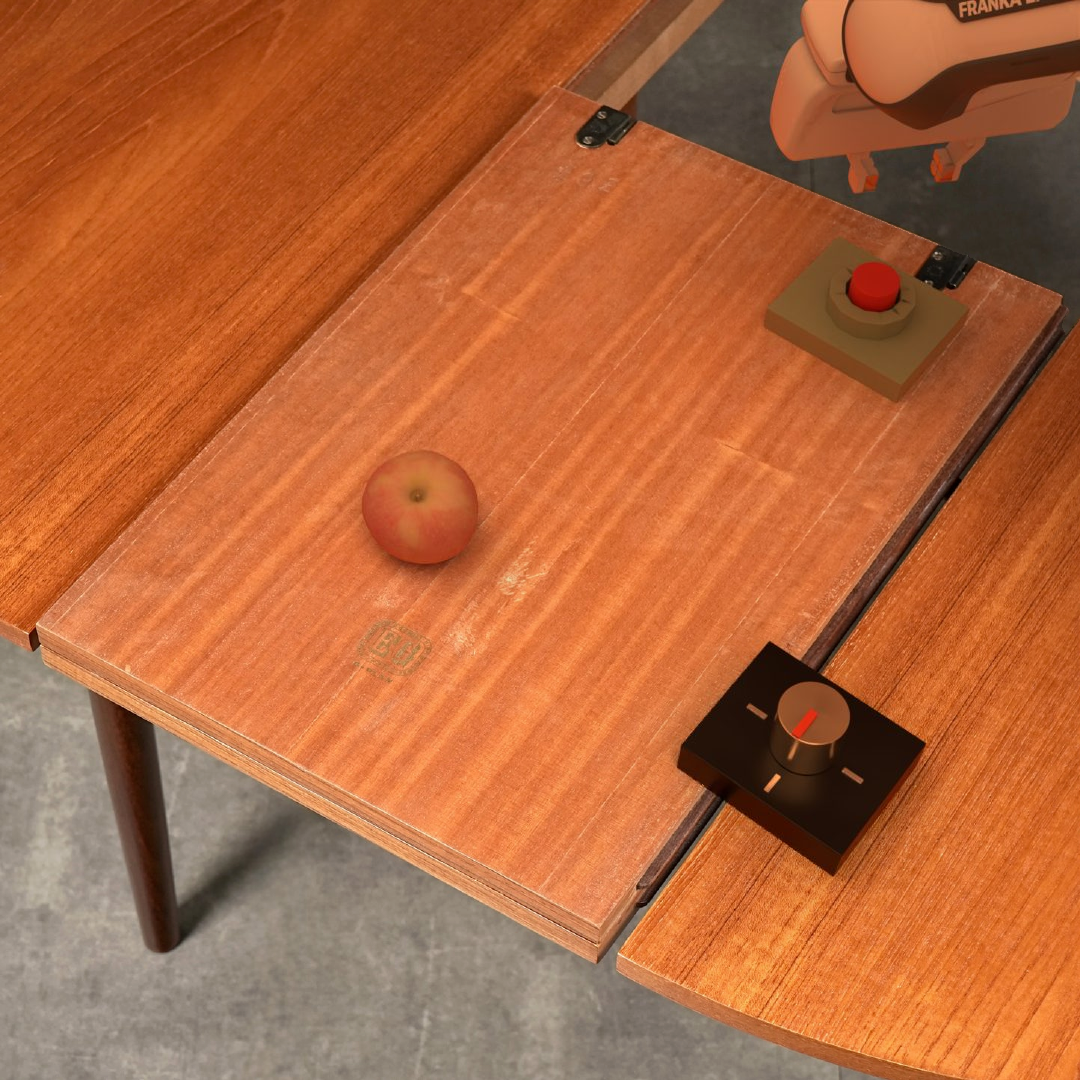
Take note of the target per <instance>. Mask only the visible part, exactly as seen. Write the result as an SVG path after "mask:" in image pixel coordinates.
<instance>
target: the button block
mask: <svg viewBox="0 0 1080 1080" xmlns="http://www.w3.org/2000/svg"><path fill="white" fill-rule="evenodd" d="M867 262H880V263H884V264H886V265H888V266H890V267H892V268H893V269H894V270H895V271H896V272H897V273H898V275H899V277H900V287H899V291H898V294H897V298H896V301H895V303H894V304H893V306H892V307H890V308H889V309H887V310H885V311H881V312H871V311H865V310H863V309H861V308H859V307H857V306H856V305H855V304H854V303H853V302H852V301H851V299H850V297H849V287H850V283H851V279H852V275H853V272H854V270H855V269H856V268H857V267H858V266H860V265H861V264H864V263H867ZM970 309H971V307H970V306H968V305H966V304H964V303H963V302H960V301H959V300H957V299H955V298H953V297H951V296H949V295H948V294H946V293H945V292H942V291H940V290H939V289H937V288H935V287H933V286H931V285H930V284H927V283H926V282H924V281H922V280H920V279H919V278H917V277H915V276H913V275H911V274H909V273H907V272H906V271H904V270H902V269H900V268H898V267H896V266H894V265H893V264H891V263H889V262H887V261H885V260H884V259H881V258H880V257H878V256H876V255H874V254H873V253H871V252H869V251H867V250H866V249H863V248H862V247H859V246H858V245H856V244H854V243H853V242H851V241H849V240H846V239H845V238H843V237H841V236H840V235H837V236H836V237H835V238H834V239H833V240H832V241H831V242H830V243H829V244H828V245H827V246H826V247H825V249H824V250H822V252H820V253H819V254H818V256H817V257H815V259H814V260H812V262H811V263H809V265H808V266H807V267H806V268H805V269H804V270H803V271H802V272H801V273H800V274H799V275H798V276H797V277H796V278H795V279H794V280H793V281H792V282H791V283H790V284H789V285H788V286H787V287H786V288H785V289H784V290H783V291H782V292H781V293H780V294H779V296H777V297H776V298H775V299H774V300H773V301H772V302H771V303H770V304H769V305H768V307H766V311H765V312H766V313H765V318H764V322H763V328H765V330H768V331H769V332H771V333H772V334H774V335H776V336H778V337H780V338H782V339H783V340H785V341H787V342H789V343H790V344H792V345H794V346H795V347H797V348H798V349H801V350H803V351H804V352H805V353H808V354H809V355H810V356H813V357H815V358H816V359H818V360H820V361H821V362H823V363H825V364H827V365H828V366H830V367H832V368H834V369H836V370H837V371H839V372H840V373H842V374H843V375H845V376H848V377H849V378H851V379H853V380H854V381H856V382H858V383H860V384H862V385H863V386H864V387H867V388H868V389H869V390H872V391H874V392H875V393H877V394H879V395H880V396H882V397H884V398H886V399H888V400H889V401H891V402H893V403H894V404H897V403H898V402H899V401H900V400H901V399H902V398H903V397H904V395H905V394H906V393H907V392H908V391H909V390H910V388H911V387H912V386H913V385H914V384H915V383H916V382H917V381H918V379H920V377H921V376H922V375H923V374H924V373H925V371H926V370H928V368H929V367H931V365H932V364H933V363H934V362H935V360H936V359H937V358H938V357H939V356H940V355H941V353H942V352H943V351H944V350H945V349H946V348H947V346H948V345H949V344H950V343H951V342H952V341H953V340H954V339H955V337H956V336H957V335H958V334H959V333H960V332H961V331H962V330H963V328H964V327H965V324H966V322H967V319H968V316H969V313H970Z"/></svg>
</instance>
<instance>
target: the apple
mask: <svg viewBox="0 0 1080 1080" xmlns="http://www.w3.org/2000/svg"><path fill="white" fill-rule="evenodd" d="M475 486H476V485H475V484H474V482H473V481H472V479H471V477H470V475H469V474H468V473H467V471H466V470H465V469H464V467H462V466H461V465H460V464H459V463H458V462H456V461H455V460H453V459H451V458H449V457H448V456H446V455H444V454H442V453H440V452H438V451H433V450H426V449H424V450H423V449H421V450H413V451H407V452H403V453H400V454H398V455H396V456H393V457H391V458H389V459H387V460H386V461H384V462H383V463H382V464H380V465H379V466H378V467H377V468H376V469H375V470H374V471H373V473H372V474H371V476H370V477H369V479H368V481H367V483H366V485H365V488H364V490H363V493H362V498H361V513H362V517H363V521H364V523H365V525H366V528H367V529H368V530H369V533H370V534H371V536H372V538H373V540H374V541H375V542H376V543H377V544H378V546H380V547H381V549H383V550H384V551H386V553H387V554H388V555H390V556H392V557H394V558H395V559H398V560H401V561H404V562H408V563H412V564H422V565H425V564H437V563H441V562H444V561H447V560H450V559H451V558H454V557H456V556H457V555H458V554H460V553H461V552H462V551H463V550H464V549H465V548H466V547H467V545H468V544H469V543H470V541H471V539H472V538H473V536H474V532H475V530H476V527H477V522H478V517H479V498H478V494H477V493H478V492H477V489H476V487H475Z"/></svg>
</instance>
